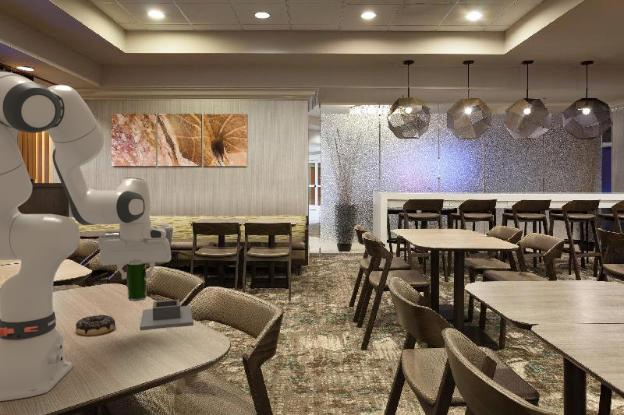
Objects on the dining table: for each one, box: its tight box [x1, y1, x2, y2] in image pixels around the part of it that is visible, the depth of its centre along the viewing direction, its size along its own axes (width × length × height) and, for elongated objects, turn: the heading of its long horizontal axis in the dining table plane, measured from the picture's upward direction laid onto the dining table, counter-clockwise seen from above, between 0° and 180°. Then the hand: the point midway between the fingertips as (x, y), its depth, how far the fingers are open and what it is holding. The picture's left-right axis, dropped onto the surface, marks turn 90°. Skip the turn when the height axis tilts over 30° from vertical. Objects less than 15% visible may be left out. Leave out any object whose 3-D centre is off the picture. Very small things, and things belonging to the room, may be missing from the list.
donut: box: [75, 314, 116, 336], centre depth 150 cm, size 11×12×4 cm
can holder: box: [139, 299, 194, 331], centre depth 162 cm, size 20×16×5 cm
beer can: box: [126, 260, 148, 302], centre depth 145 cm, size 5×5×12 cm
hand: (136, 278), depth 145 cm, fingers closed on beer can, 5 cm apart
